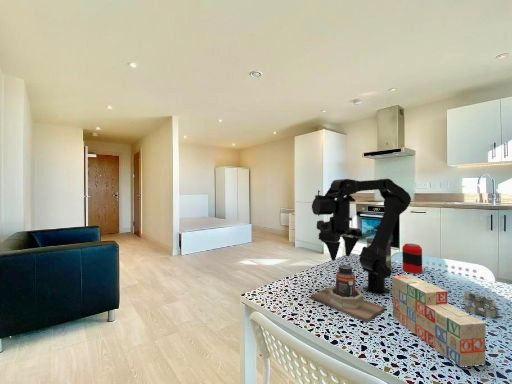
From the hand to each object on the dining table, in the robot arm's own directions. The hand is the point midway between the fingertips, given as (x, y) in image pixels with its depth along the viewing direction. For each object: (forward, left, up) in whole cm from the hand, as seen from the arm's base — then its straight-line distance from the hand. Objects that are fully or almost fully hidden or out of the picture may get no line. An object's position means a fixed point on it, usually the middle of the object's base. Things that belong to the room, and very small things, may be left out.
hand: (340, 258), depth 86 cm
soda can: (-48, +6, -13) cm, 50 cm away
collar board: (+5, +5, -13) cm, 15 cm away
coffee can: (-37, -4, -13) cm, 40 cm away
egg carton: (-24, +33, -14) cm, 43 cm away
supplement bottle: (+5, +5, -12) cm, 14 cm away
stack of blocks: (+4, +28, -14) cm, 32 cm away
